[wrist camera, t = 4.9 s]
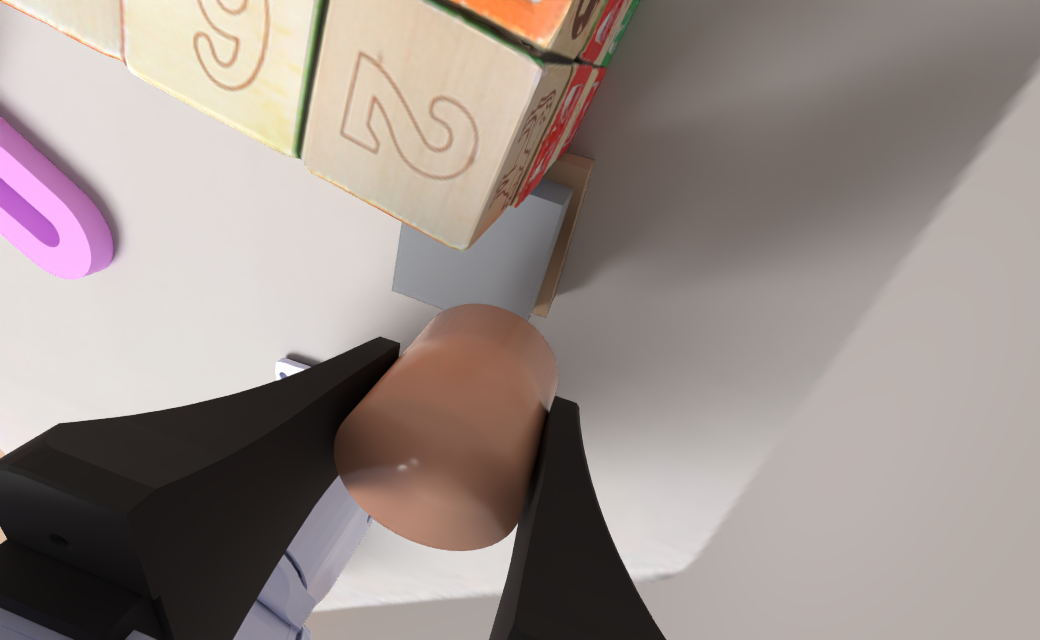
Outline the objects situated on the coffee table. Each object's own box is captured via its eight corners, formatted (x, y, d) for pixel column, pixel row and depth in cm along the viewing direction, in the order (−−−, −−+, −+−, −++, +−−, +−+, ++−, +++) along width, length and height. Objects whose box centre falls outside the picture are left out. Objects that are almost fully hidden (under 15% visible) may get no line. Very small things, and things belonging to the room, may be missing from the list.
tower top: (534, 307, 19) (519, 337, 17) (420, 266, 19) (391, 290, 17) (573, 188, 16) (562, 205, 14) (442, 143, 17) (411, 153, 15)
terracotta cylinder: (539, 444, 15) (502, 574, 11) (412, 402, 15) (333, 512, 12) (575, 330, 13) (544, 442, 9) (425, 284, 13) (334, 372, 9)
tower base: (555, 292, 21) (545, 317, 19) (432, 253, 22) (409, 273, 20) (595, 158, 18) (589, 170, 16) (451, 117, 19) (425, 123, 17)
